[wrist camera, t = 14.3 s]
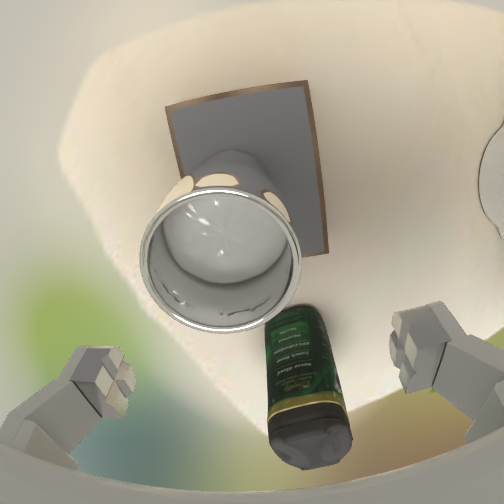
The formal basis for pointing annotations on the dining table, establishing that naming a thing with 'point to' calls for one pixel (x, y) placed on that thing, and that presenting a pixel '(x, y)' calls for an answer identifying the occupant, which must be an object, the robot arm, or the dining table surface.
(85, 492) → the robot arm
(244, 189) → the beer glass
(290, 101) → the walnut plinth
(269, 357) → the coffee jar
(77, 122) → the dining table surface
